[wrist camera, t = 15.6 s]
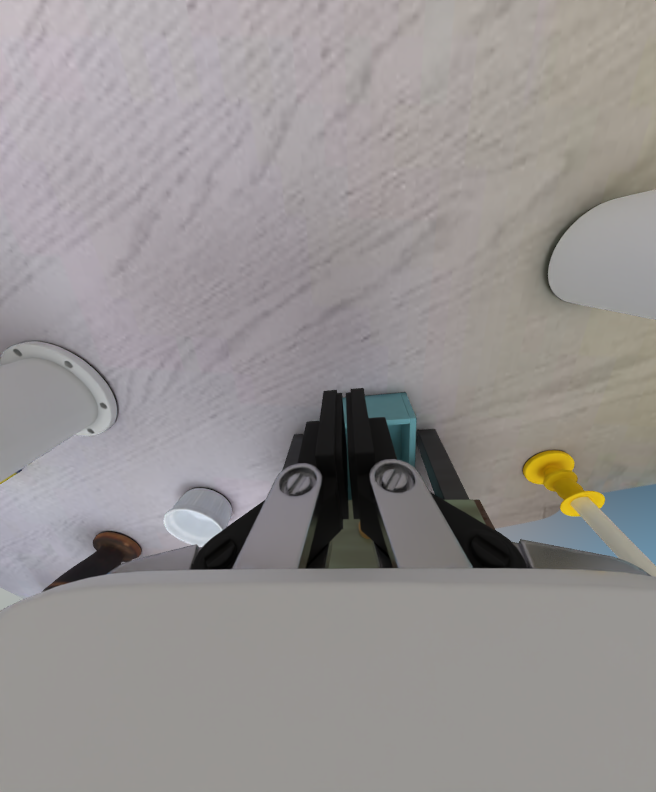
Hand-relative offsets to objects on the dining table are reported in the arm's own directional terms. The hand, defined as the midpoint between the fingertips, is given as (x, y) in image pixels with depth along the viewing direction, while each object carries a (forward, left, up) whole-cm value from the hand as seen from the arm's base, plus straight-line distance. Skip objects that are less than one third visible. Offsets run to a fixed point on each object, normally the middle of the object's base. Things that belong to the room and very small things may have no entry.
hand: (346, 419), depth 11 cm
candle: (+28, -10, -16) cm, 33 cm away
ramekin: (-14, -32, -16) cm, 38 cm away
